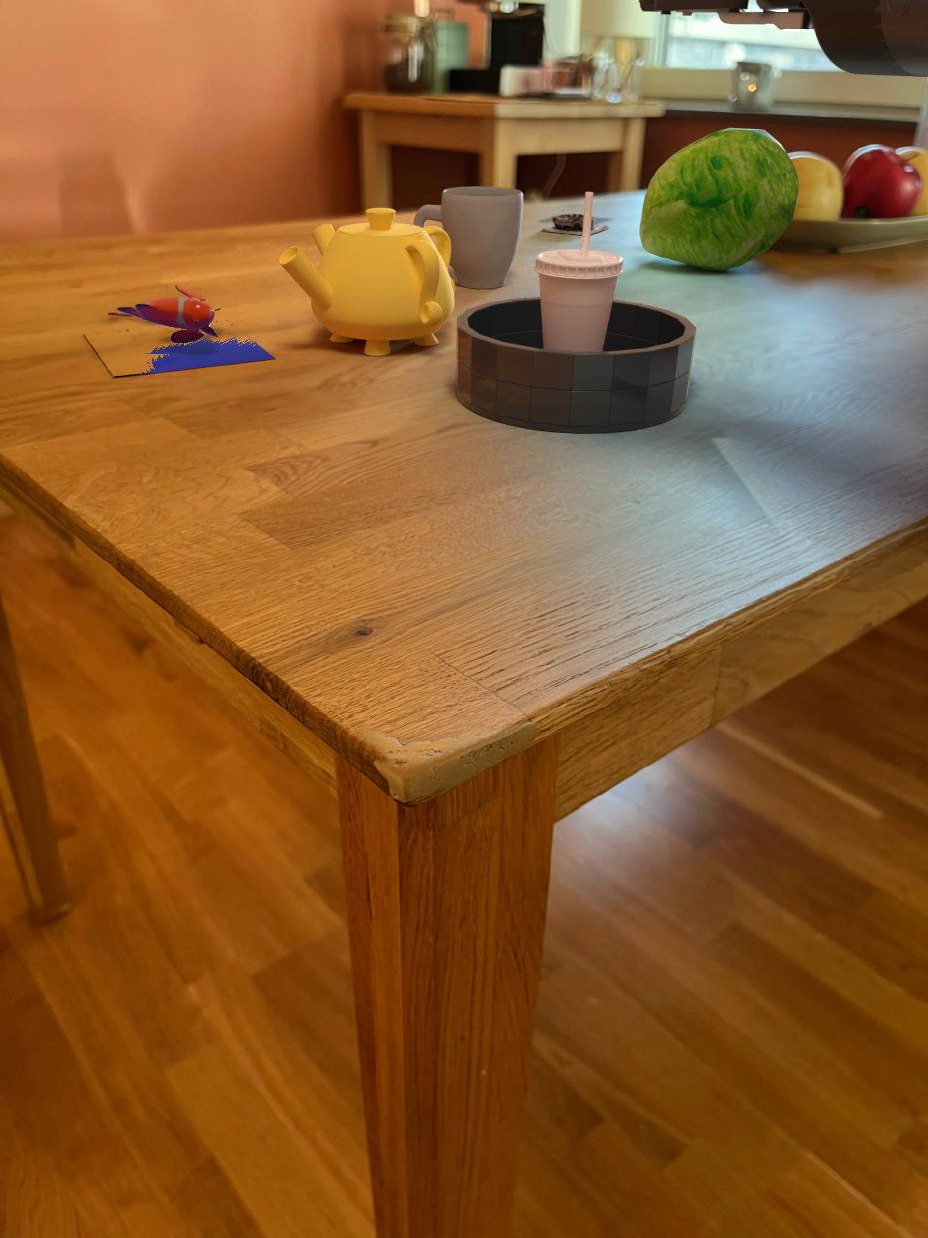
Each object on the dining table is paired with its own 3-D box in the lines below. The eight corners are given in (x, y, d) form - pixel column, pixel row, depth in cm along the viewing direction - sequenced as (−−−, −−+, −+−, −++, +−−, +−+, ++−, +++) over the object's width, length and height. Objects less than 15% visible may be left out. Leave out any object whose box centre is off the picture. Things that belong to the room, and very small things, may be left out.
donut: (562, 223, 150) (563, 208, 148) (610, 228, 146) (611, 213, 145) (538, 230, 143) (539, 215, 142) (587, 235, 140) (588, 220, 139)
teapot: (320, 318, 96) (312, 194, 90) (459, 323, 95) (461, 198, 89) (284, 360, 83) (272, 219, 78) (444, 366, 82) (444, 224, 77)
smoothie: (566, 406, 72) (580, 200, 65) (511, 384, 76) (519, 189, 69) (629, 392, 75) (649, 193, 68) (573, 371, 79) (586, 183, 72)
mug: (521, 276, 114) (524, 187, 110) (518, 293, 107) (522, 197, 102) (418, 273, 115) (417, 184, 110) (409, 289, 108) (407, 194, 103)
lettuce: (705, 245, 133) (634, 145, 125) (843, 180, 118) (771, 62, 110) (665, 330, 126) (586, 230, 118) (805, 274, 110) (725, 154, 103)
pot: (658, 362, 84) (665, 296, 81) (712, 432, 69) (724, 354, 66) (452, 362, 83) (453, 295, 80) (461, 433, 68) (462, 354, 65)
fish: (234, 291, 81) (127, 300, 77) (240, 349, 83) (136, 360, 80) (195, 264, 91) (98, 271, 87) (201, 316, 93) (108, 325, 90)
